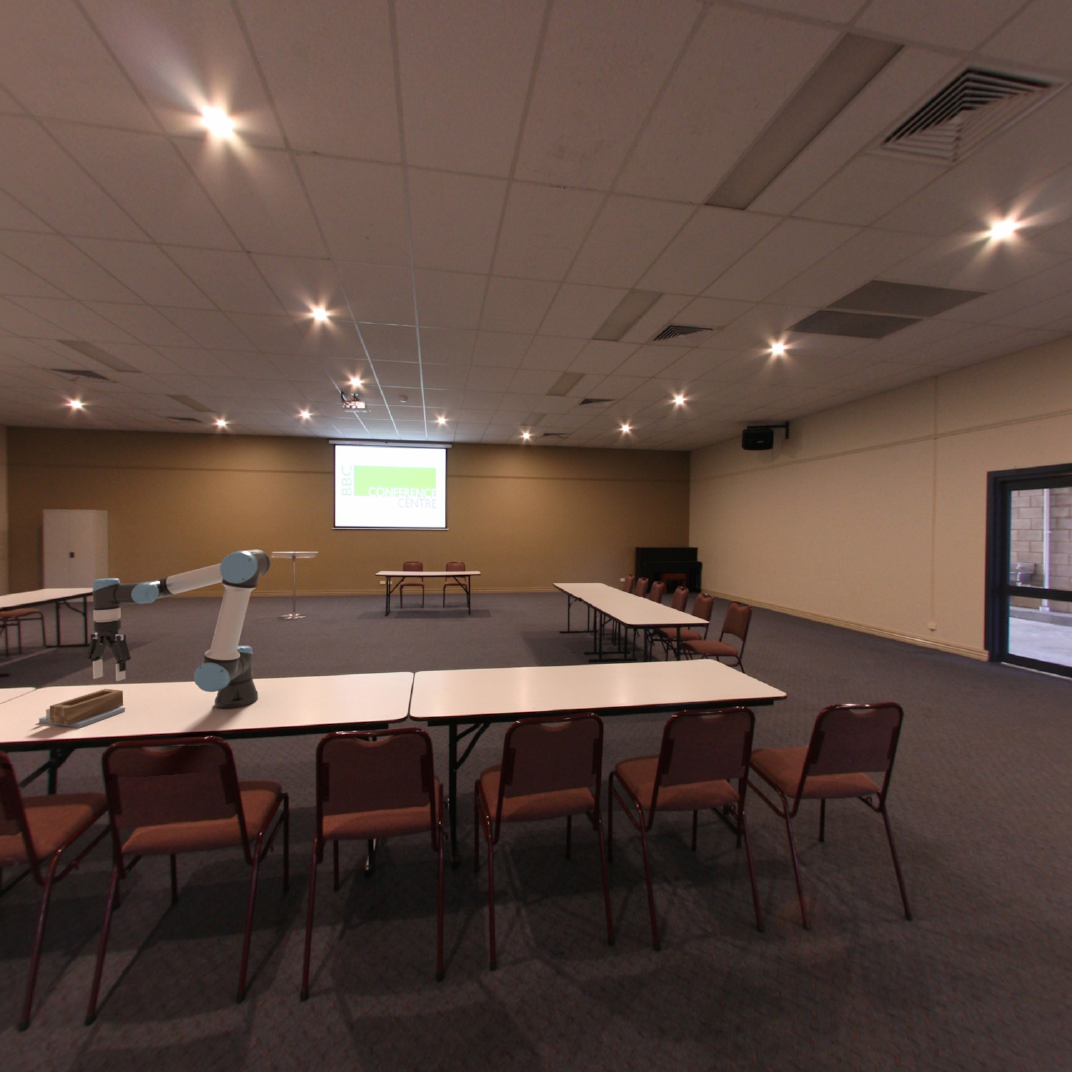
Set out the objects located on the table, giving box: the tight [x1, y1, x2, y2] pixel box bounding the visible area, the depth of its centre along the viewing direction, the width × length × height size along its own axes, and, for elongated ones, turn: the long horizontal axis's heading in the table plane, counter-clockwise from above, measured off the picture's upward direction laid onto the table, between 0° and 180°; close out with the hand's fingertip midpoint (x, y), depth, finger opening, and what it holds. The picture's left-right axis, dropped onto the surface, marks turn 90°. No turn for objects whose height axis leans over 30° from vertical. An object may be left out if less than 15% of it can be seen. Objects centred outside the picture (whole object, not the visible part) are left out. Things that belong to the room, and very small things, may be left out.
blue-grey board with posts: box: [38, 706, 126, 729], centre depth 178 cm, size 20×15×5 cm
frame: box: [49, 688, 124, 725], centre depth 177 cm, size 9×18×6 cm, turn 167°
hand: (109, 678), depth 175 cm, fingers open, 10 cm apart
